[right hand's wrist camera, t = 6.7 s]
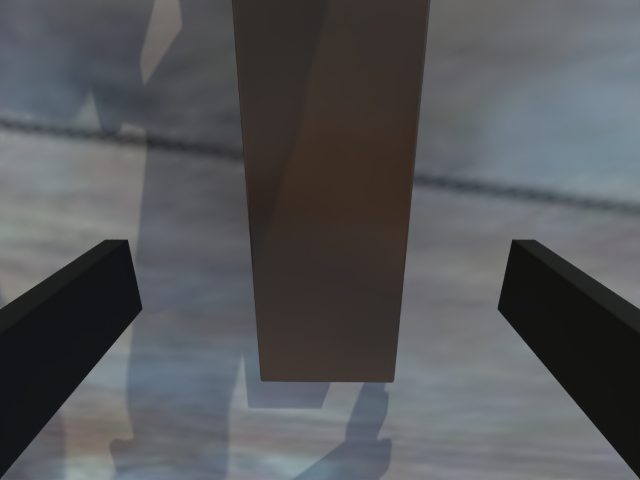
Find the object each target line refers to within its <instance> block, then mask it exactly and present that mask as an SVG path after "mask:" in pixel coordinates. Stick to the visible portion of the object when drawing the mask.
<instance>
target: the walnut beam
mask: <svg viewBox="0 0 640 480" xmlns="http://www.w3.org/2000/svg"><path fill="white" fill-rule="evenodd" d="M232 8H233V21H234V34H235V47H236V60H237V73H238V87H239V100H240V113H241V126H242V139H243V152H244V166H245V179H246V192H247V205H248V218H249V231H250V245H251V258H252V271H253V284H254V297H255V311H256V324H257V337H258V350H259V363H260V376H261V381H280V382H393V381H394V376H395V366H396V355H397V345H398V334H399V324H400V313H401V303H402V292H403V282H404V271H405V261H406V250H407V240H408V229H409V219H410V208H411V198H412V187H413V177H414V166H415V156H416V145H417V135H418V124H419V114H420V103H421V93H422V82H423V72H424V61H425V51H426V40H427V30H428V19H429V9H430V0H232Z"/></svg>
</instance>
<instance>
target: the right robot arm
mask: <svg viewBox="0 0 640 480" xmlns="http://www.w3.org/2000/svg"><path fill="white" fill-rule="evenodd" d="M141 310H142V304H141V300H140V295H139V290H138V286H137V281H136V276H135V272H134V267H133V262H132V257H131V253H130V248H129V243H128V240H104V241H103V242H101V243H100V244H98V245H97V246H95V247H94V248H92V249H91V250H89V251H87V252H86V253H84V254H83V255H81V256H80V257H78V258H77V259H75V260H74V261H72V262H71V263H69V264H68V265H66V266H65V267H63V268H62V269H60V270H59V271H57V272H56V273H54V274H53V275H51V276H50V277H48V278H47V279H45V280H44V281H42V282H41V283H39V284H38V285H36V286H35V287H33V288H32V289H30V290H29V291H27V292H26V293H24V294H23V295H21V296H20V297H18V298H17V299H15V300H14V301H12V302H11V303H9V304H8V305H6V306H5V307H3V308H2V309H0V479H1V477H2V476H3V475H4V474H5V473H6V471H7V470H8V469H9V468H10V467H11V465H12V464H13V463H14V462H15V461H16V459H17V458H18V457H19V456H20V455H21V453H22V452H23V451H24V450H25V449H26V448H27V446H28V445H29V444H30V443H31V442H32V440H33V439H34V438H35V437H36V436H37V434H38V433H39V432H40V431H41V430H42V428H43V427H44V426H45V425H46V424H47V422H48V421H49V420H50V419H51V418H52V416H53V415H54V414H55V413H56V412H57V410H58V409H59V408H60V407H61V406H62V405H63V403H64V402H65V401H66V400H67V399H68V397H69V396H70V395H71V394H72V393H73V391H74V390H75V389H76V388H77V387H78V385H79V384H80V383H81V382H82V381H83V379H84V378H85V377H86V376H87V375H88V373H89V372H90V371H91V370H92V369H93V367H94V366H95V365H96V364H97V363H98V362H99V360H100V359H101V358H102V357H103V356H104V354H105V353H106V352H107V351H108V350H109V348H110V347H111V346H112V345H113V344H114V342H115V341H116V340H117V339H118V338H119V336H120V335H121V334H122V333H123V332H124V330H125V329H126V328H127V327H128V326H129V325H130V323H131V322H132V321H133V320H134V319H135V317H136V316H137V315H138V314H139V313H140V311H141ZM498 310H499V311H500V313H501V314H502V315H503V316H504V317H505V319H506V320H507V321H508V322H509V323H510V325H511V326H512V327H513V328H514V329H515V330H516V332H517V333H518V334H519V335H520V336H521V338H522V339H523V340H524V341H525V342H526V344H527V345H528V346H529V347H530V348H531V350H532V351H533V352H534V353H535V354H536V356H537V357H538V358H539V359H540V360H541V362H542V363H543V364H544V365H545V366H546V367H547V369H548V370H549V371H550V372H551V373H552V375H553V376H554V377H555V378H556V379H557V381H558V382H559V383H560V384H561V385H562V387H563V388H564V389H565V390H566V391H567V393H568V394H569V395H570V396H571V397H572V399H573V400H574V401H575V402H576V403H577V405H578V406H579V407H580V408H581V409H582V410H583V412H584V413H585V414H586V415H587V416H588V418H589V419H590V420H591V421H592V422H593V424H594V425H595V426H596V427H597V428H598V430H599V431H600V432H601V433H602V434H603V436H604V437H605V438H606V439H607V440H608V442H609V443H610V444H611V445H612V446H613V448H614V449H615V450H616V451H617V452H618V453H619V455H620V456H621V457H622V458H623V459H624V461H625V462H626V463H627V464H628V465H629V467H630V468H631V469H632V470H633V471H634V473H635V474H636V475H637V476H638V477H639V479H640V309H638V308H637V307H635V306H634V305H632V304H631V303H629V302H628V301H626V300H625V299H623V298H622V297H620V296H619V295H617V294H616V293H614V292H613V291H611V290H610V289H608V288H607V287H605V286H604V285H602V284H601V283H599V282H598V281H596V280H595V279H593V278H592V277H590V276H589V275H587V274H586V273H584V272H583V271H581V270H580V269H578V268H577V267H575V266H574V265H572V264H571V263H569V262H568V261H566V260H565V259H563V258H562V257H560V256H559V255H557V254H556V253H554V252H552V251H551V250H549V249H548V248H546V247H545V246H543V245H542V244H540V243H539V242H537V241H536V240H512V243H511V248H510V253H509V257H508V262H507V267H506V272H505V276H504V281H503V286H502V290H501V295H500V300H499V304H498Z"/></svg>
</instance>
